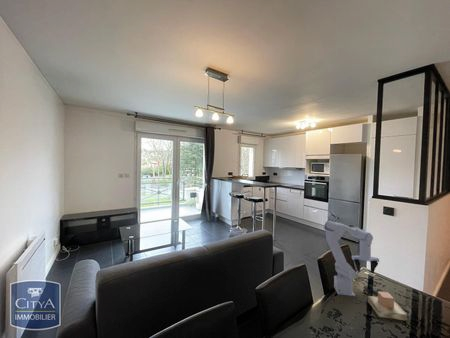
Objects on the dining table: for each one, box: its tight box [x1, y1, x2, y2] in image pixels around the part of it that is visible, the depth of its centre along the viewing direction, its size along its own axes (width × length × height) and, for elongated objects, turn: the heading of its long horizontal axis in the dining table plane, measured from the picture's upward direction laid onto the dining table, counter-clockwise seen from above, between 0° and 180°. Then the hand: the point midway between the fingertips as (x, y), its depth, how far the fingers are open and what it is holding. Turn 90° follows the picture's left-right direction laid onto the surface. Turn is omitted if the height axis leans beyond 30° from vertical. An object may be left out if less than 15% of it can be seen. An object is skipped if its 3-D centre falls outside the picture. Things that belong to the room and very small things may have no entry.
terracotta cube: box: [377, 291, 395, 308], centre depth 103 cm, size 5×5×5 cm
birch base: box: [367, 295, 408, 321], centre depth 103 cm, size 12×12×3 cm
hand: (365, 271), depth 124 cm, fingers open, 7 cm apart
